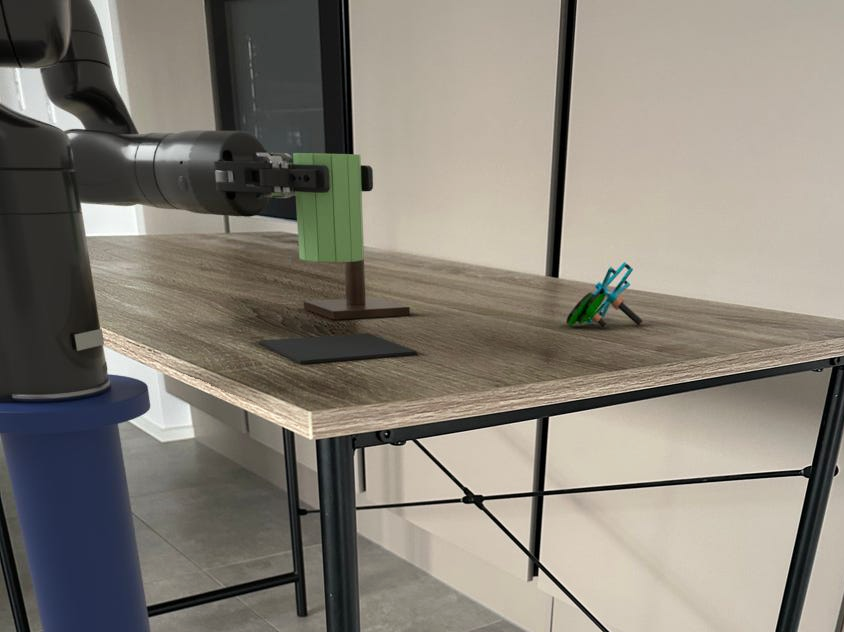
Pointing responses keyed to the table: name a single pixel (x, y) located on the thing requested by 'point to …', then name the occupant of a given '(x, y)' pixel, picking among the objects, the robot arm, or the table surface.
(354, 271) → the stand
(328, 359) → the mat
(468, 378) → the table surface
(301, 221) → the green pencil cup
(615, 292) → the stick construction toy
